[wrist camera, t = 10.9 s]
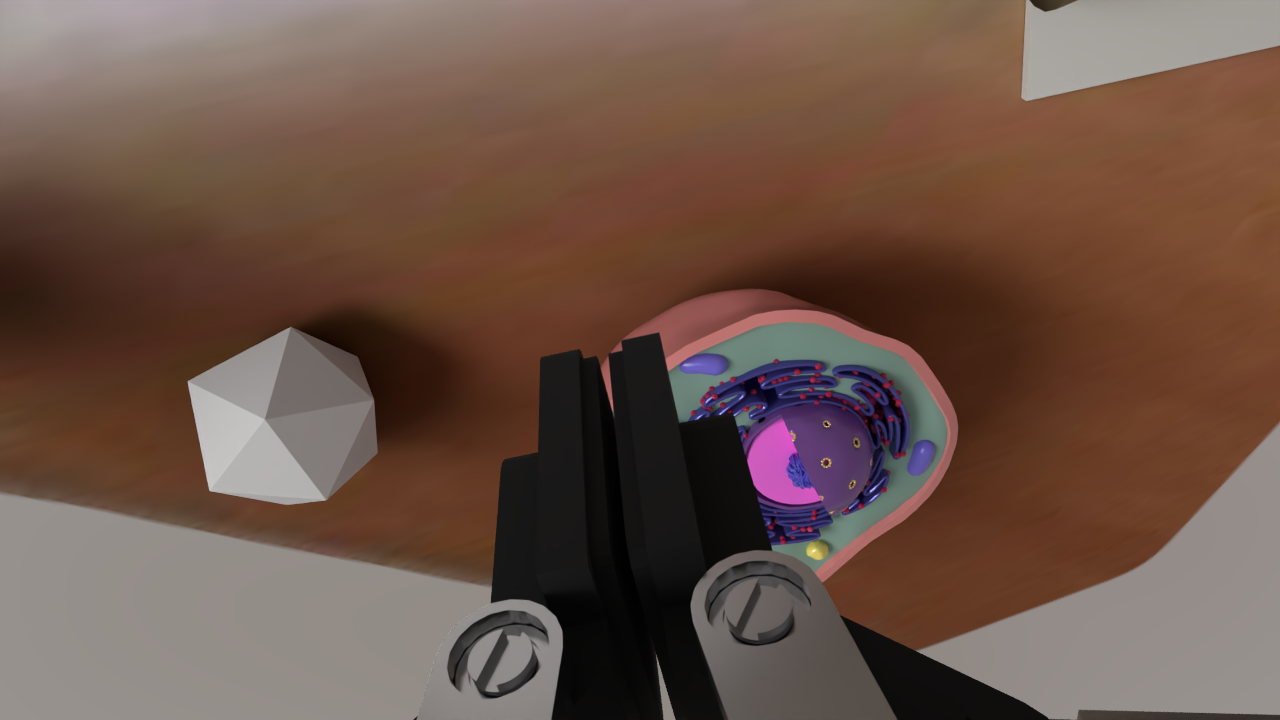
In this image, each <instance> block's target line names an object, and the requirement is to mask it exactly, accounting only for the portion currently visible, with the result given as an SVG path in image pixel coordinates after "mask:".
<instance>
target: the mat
mask: <svg viewBox="0 0 1280 720" xmlns="http://www.w3.org/2000/svg"><path fill="white" fill-rule="evenodd" d="M1275 46H1280V0H1077V1H1075V2H1073V3H1070V4H1068V5H1066V6H1063V7H1061V8H1058V9H1056V10H1052V11H1047V12H1044V11H1042V10H1040V9H1038V8H1036V7H1034V5H1033V4H1032V3H1031V2H1030V0H1026V14H1025V34H1024V55H1023V75H1022V96H1021V98H1022V99H1024V100H1025V101H1029V100H1034V99H1038V98H1043V97H1047V96H1052V95H1056V94H1061V93H1066V92H1070V91H1075V90H1079V89H1084V88H1088V87H1093V86H1097V85H1102V84H1107V83H1111V82H1116V81H1120V80H1125V79H1129V78H1134V77H1138V76H1143V75H1148V74H1152V73H1157V72H1161V71H1166V70H1170V69H1175V68H1180V67H1184V66H1189V65H1193V64H1198V63H1202V62H1207V61H1211V60H1216V59H1221V58H1225V57H1230V56H1234V55H1239V54H1243V53H1248V52H1252V51H1257V50H1262V49H1266V48H1271V47H1275Z"/></svg>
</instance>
